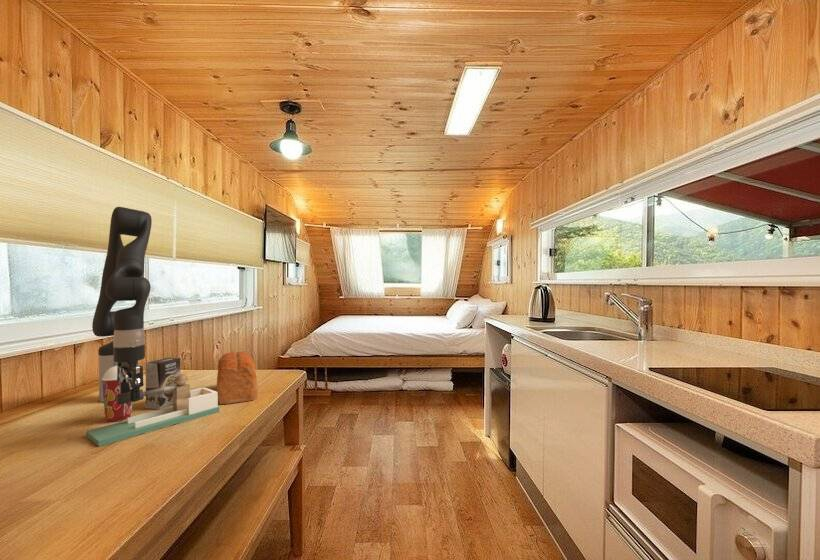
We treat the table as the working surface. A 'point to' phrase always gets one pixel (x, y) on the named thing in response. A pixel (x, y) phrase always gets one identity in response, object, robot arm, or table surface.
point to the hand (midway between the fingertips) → (130, 398)
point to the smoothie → (114, 397)
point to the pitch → (157, 418)
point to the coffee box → (161, 381)
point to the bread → (236, 378)
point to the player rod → (179, 391)
